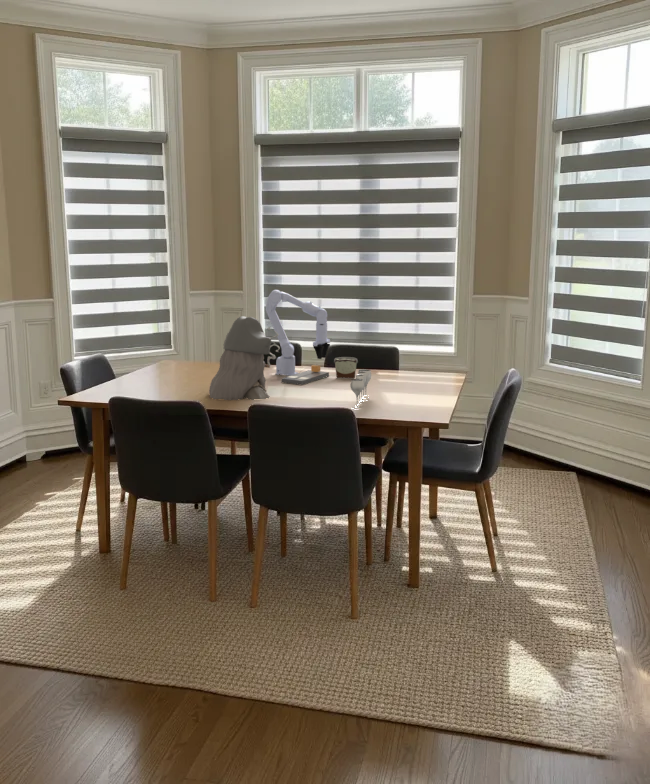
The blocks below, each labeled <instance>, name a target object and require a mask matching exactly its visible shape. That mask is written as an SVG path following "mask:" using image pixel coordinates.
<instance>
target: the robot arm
mask: <svg viewBox="0 0 650 784" xmlns="http://www.w3.org/2000/svg"><path fill="white" fill-rule="evenodd" d="M280 302H281V303H285V302H289V303H290V304H292V305H294V306H297V307H298V308H301V310H302V312H303V313H306V314H307V315H310V317H311V316H312V317H315V318H316V324H315V332H316V333H315V341H313V342H312V347H313V349H314V350H315V351H314V352H315V354H316V358H317V360H322V358H327V354H328V351H329V349H330V347H331V339H330V338H328V316H329V315H328V312H327V310H326V309H325V308H323V307H321V306H320V305H319V306H318V305H316V304H314V303H313V302H312V301H303V300H301V299H299V298H297V297H295V296H293V295H291V294H289V293H288V292H284V291H281V290H280V289H273V290H271V292H270V293H269V295H268V297H267V299H266V306H265V312H266V315H267V317H268V318H269V321H270V324H271V326H272V328H273V332H275V334H276V332H277V333H278V337H276V338H277V340H278V342H279V345H280V346H279V347H280V349H281V356H278V357H276V362H275V369H276V371H275V375H279V374H280V375H281V376H287V377H288V376H291V375H295V374H298V373H299V372H296V356H295V355H294V353H295V346H294V345H293V343H291V342H290V339H289V338H288V337H287V334H286V331H285V328H284V327H283V325H282V322H281V320H280V317H279V315H278V313H277V311H276V310H277V309H276V308H277V306H278V304H279V303H280Z"/></svg>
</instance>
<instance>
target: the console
mask: <svg viewBox="0 0 650 784" xmlns="http://www.w3.org/2000/svg"><path fill="white" fill-rule="evenodd" d="M326 376H328V377H329V376H330V372H328V371H321V370H320V372H312V371H311V369H310V370H309V369H308V370H305V371H301V372H298V374H295V375H291V376H288V375H287V376H285V377H282V378H281V383H282V382H286V383H285V384H290V383H293V385H299V384H301V385H300V386H302V385H306V384H309V382H310V383H312V382H311V381H313V382H315V381H314V380H316V381H318V380H317V379H319V380H321V379H320V378H322V379H324V378H323V377H325V378H327V377H326Z"/></svg>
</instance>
